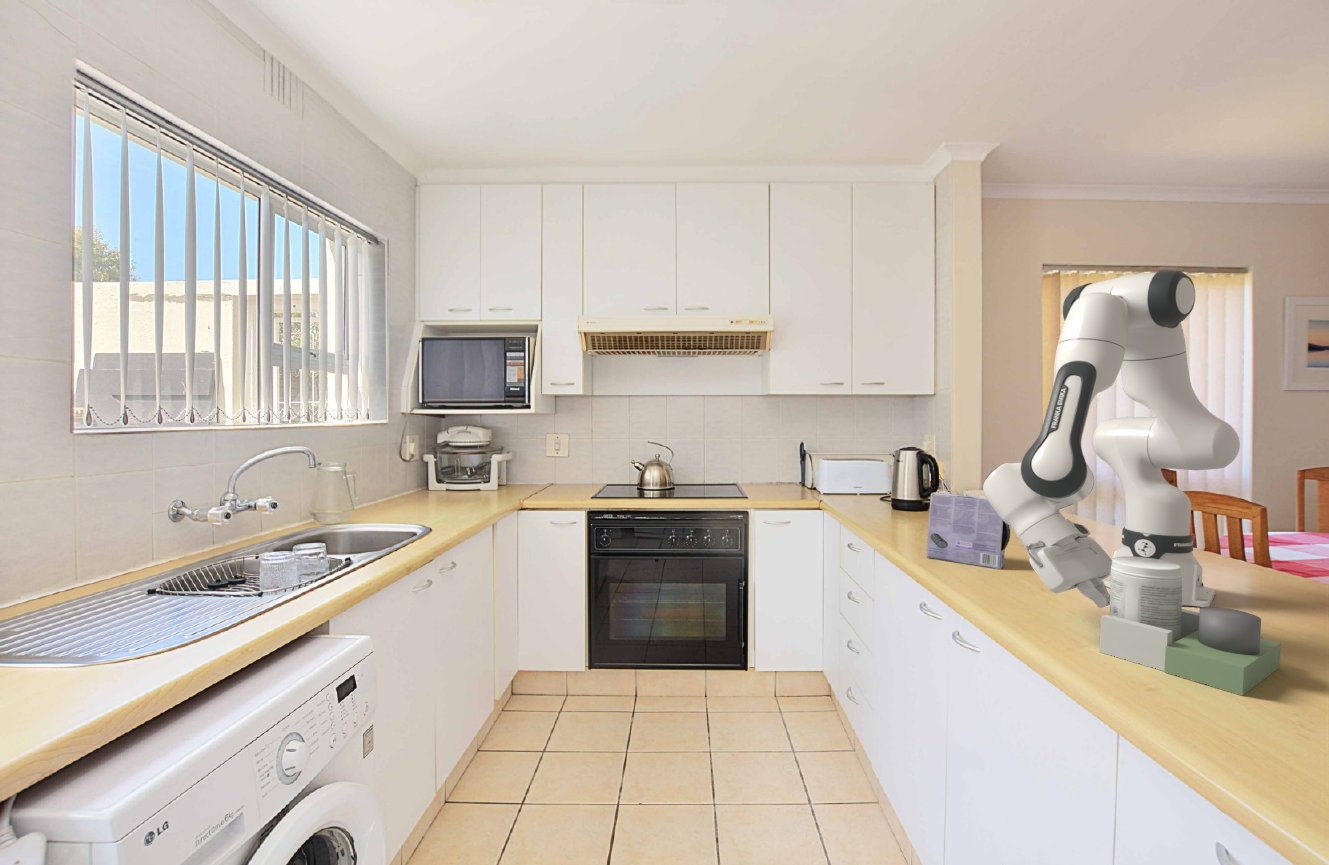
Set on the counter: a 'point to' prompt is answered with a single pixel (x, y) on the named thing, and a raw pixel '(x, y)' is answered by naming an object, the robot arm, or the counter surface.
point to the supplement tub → (1147, 592)
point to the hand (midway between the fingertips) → (1107, 605)
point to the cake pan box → (966, 531)
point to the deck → (1198, 647)
